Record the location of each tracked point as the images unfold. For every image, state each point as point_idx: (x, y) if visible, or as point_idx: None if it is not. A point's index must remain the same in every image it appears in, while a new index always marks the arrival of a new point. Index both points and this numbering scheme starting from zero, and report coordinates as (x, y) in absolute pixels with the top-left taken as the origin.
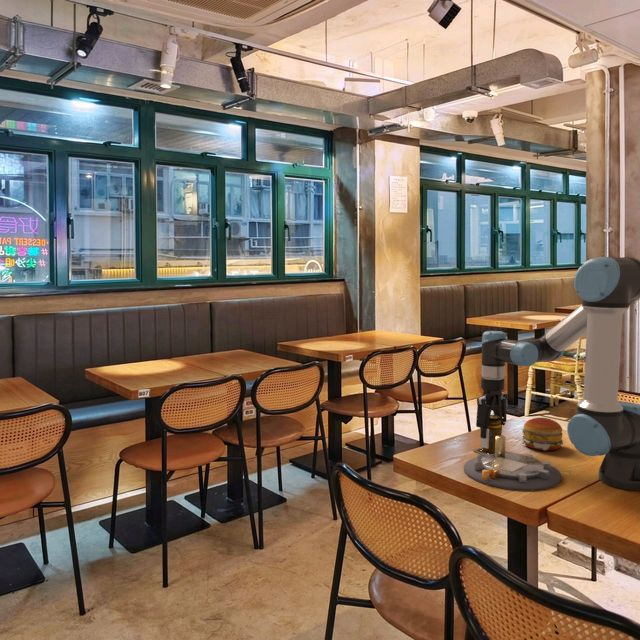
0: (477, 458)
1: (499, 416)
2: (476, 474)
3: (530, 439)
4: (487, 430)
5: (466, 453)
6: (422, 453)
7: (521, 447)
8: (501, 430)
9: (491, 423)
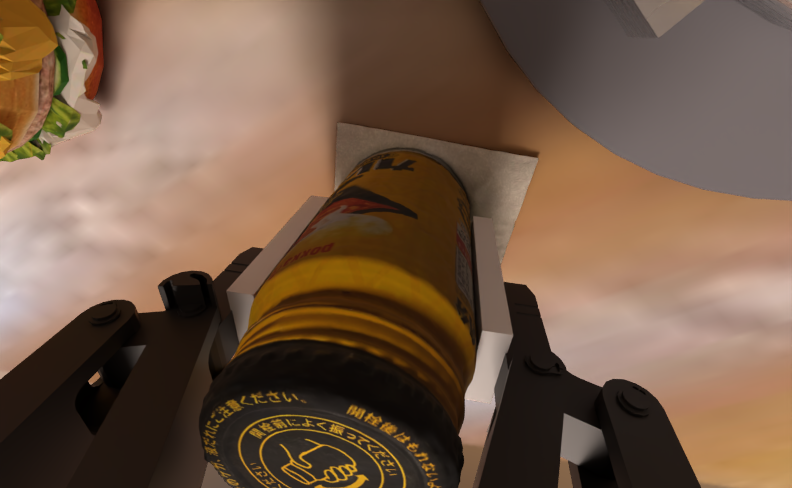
0: (744, 174)
1: (181, 413)
2: None
3: (38, 7)
4: (508, 328)
5: (559, 298)
6: (707, 442)
7: (151, 101)
8: (312, 234)
9: (455, 377)
